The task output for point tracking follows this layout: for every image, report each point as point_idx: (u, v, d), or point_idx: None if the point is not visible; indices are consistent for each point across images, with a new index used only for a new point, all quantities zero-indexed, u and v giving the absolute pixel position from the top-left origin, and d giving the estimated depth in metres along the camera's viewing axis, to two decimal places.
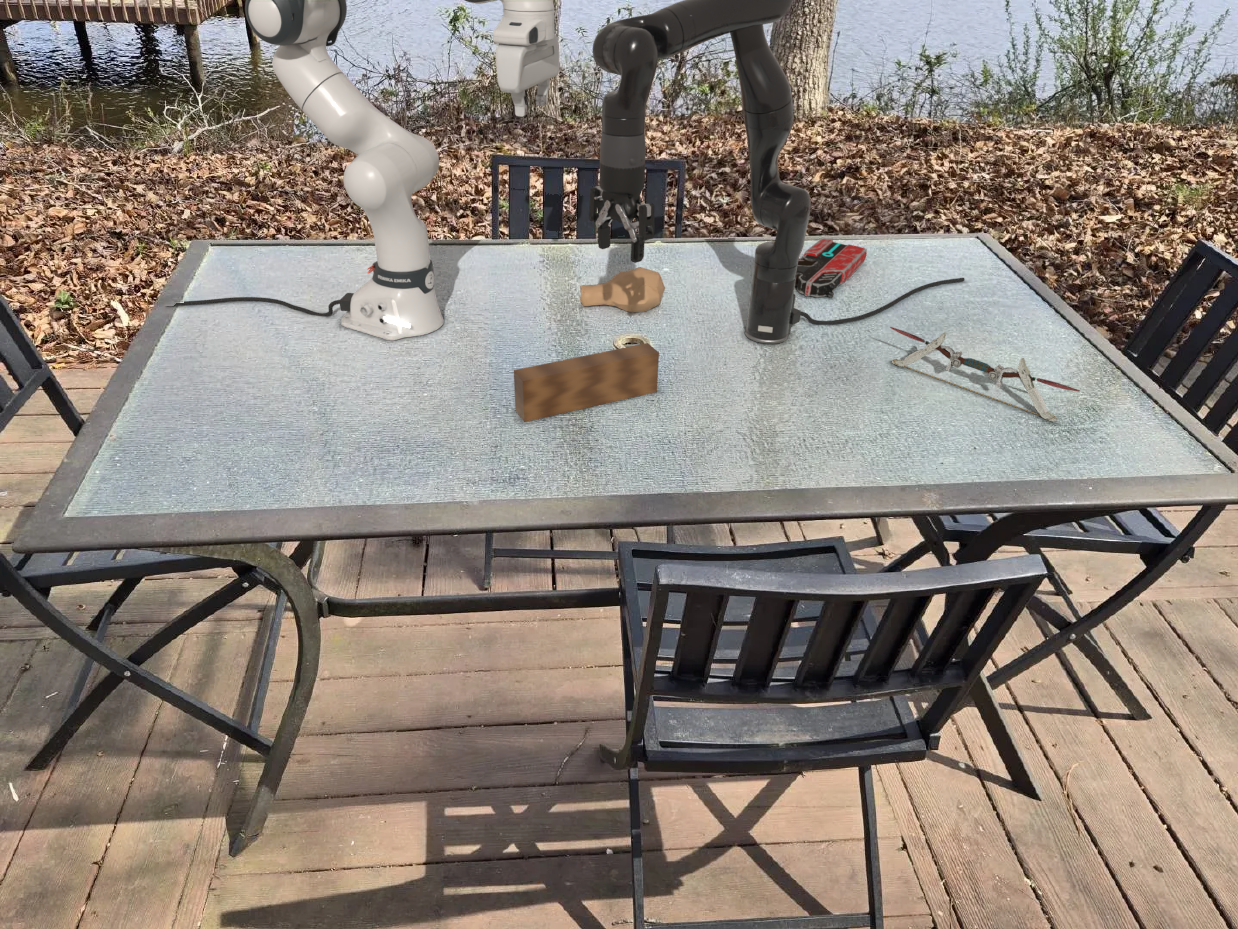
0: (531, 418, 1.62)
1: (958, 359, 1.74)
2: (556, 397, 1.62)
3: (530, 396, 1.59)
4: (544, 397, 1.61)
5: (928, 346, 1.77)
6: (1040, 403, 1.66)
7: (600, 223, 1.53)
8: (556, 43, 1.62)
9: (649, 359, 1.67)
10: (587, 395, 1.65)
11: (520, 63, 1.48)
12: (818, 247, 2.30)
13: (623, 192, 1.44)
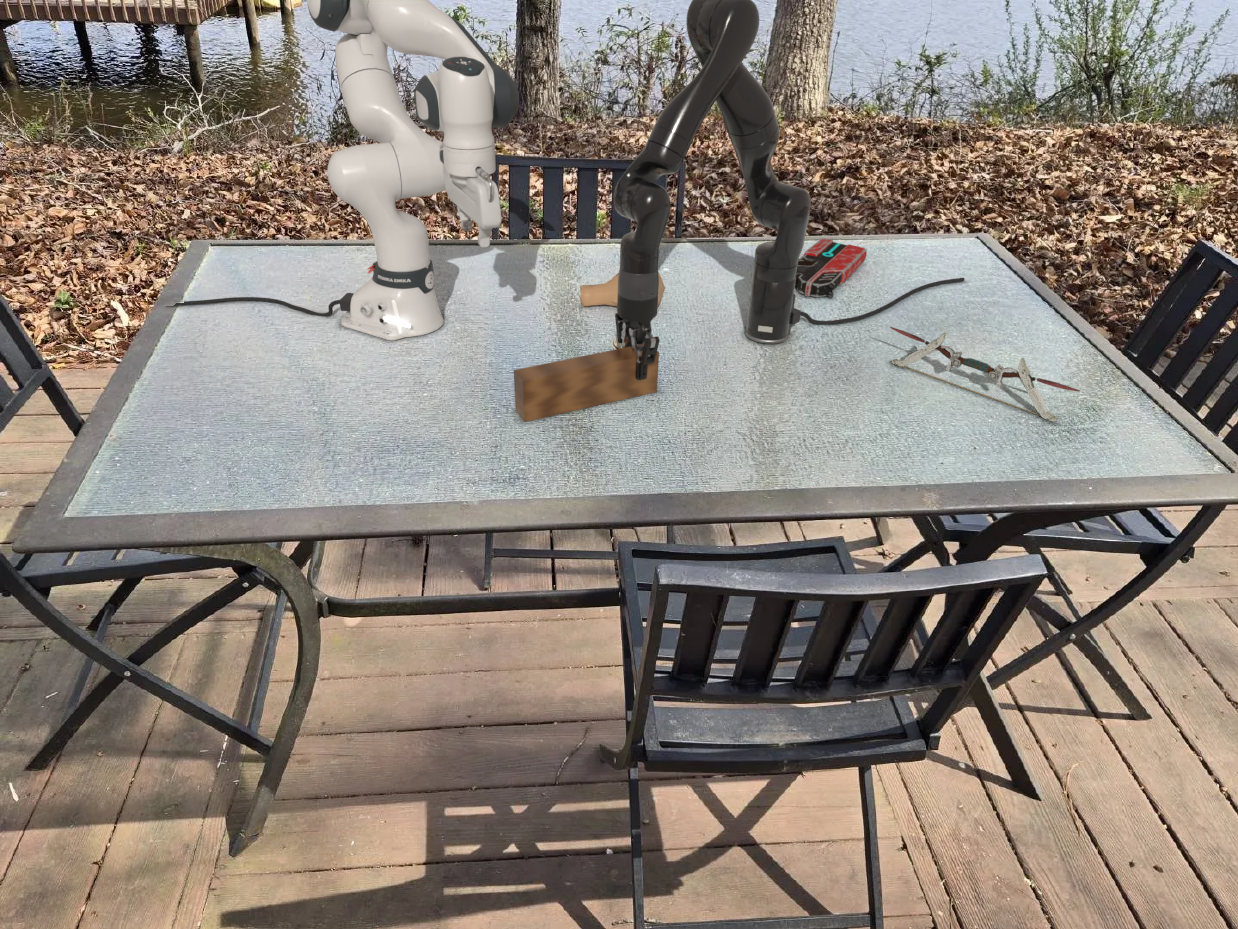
0: (531, 418, 1.62)
1: (958, 359, 1.74)
2: (556, 397, 1.62)
3: (530, 396, 1.59)
4: (544, 397, 1.61)
5: (928, 346, 1.77)
6: (1040, 403, 1.66)
7: (624, 347, 1.69)
8: (477, 195, 1.48)
9: None
10: (587, 395, 1.65)
11: (443, 173, 1.62)
12: (818, 247, 2.30)
13: (633, 320, 1.60)
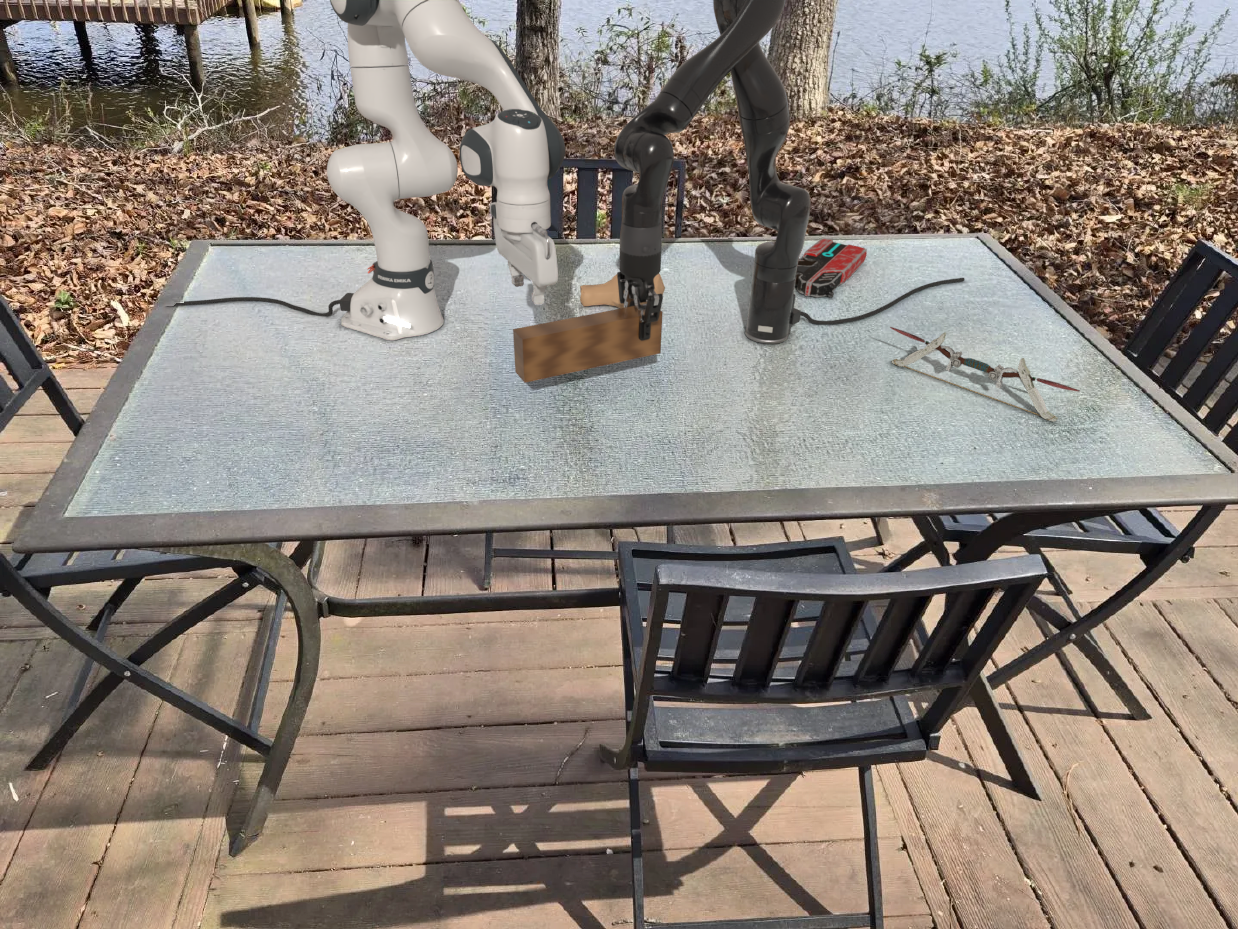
0: (531, 379, 1.57)
1: (958, 359, 1.74)
2: (557, 357, 1.57)
3: (530, 355, 1.55)
4: (544, 356, 1.56)
5: (928, 346, 1.77)
6: (1040, 403, 1.66)
7: (627, 306, 1.64)
8: (533, 252, 1.41)
9: None
10: (589, 355, 1.61)
11: None
12: (818, 247, 2.30)
13: (636, 276, 1.56)
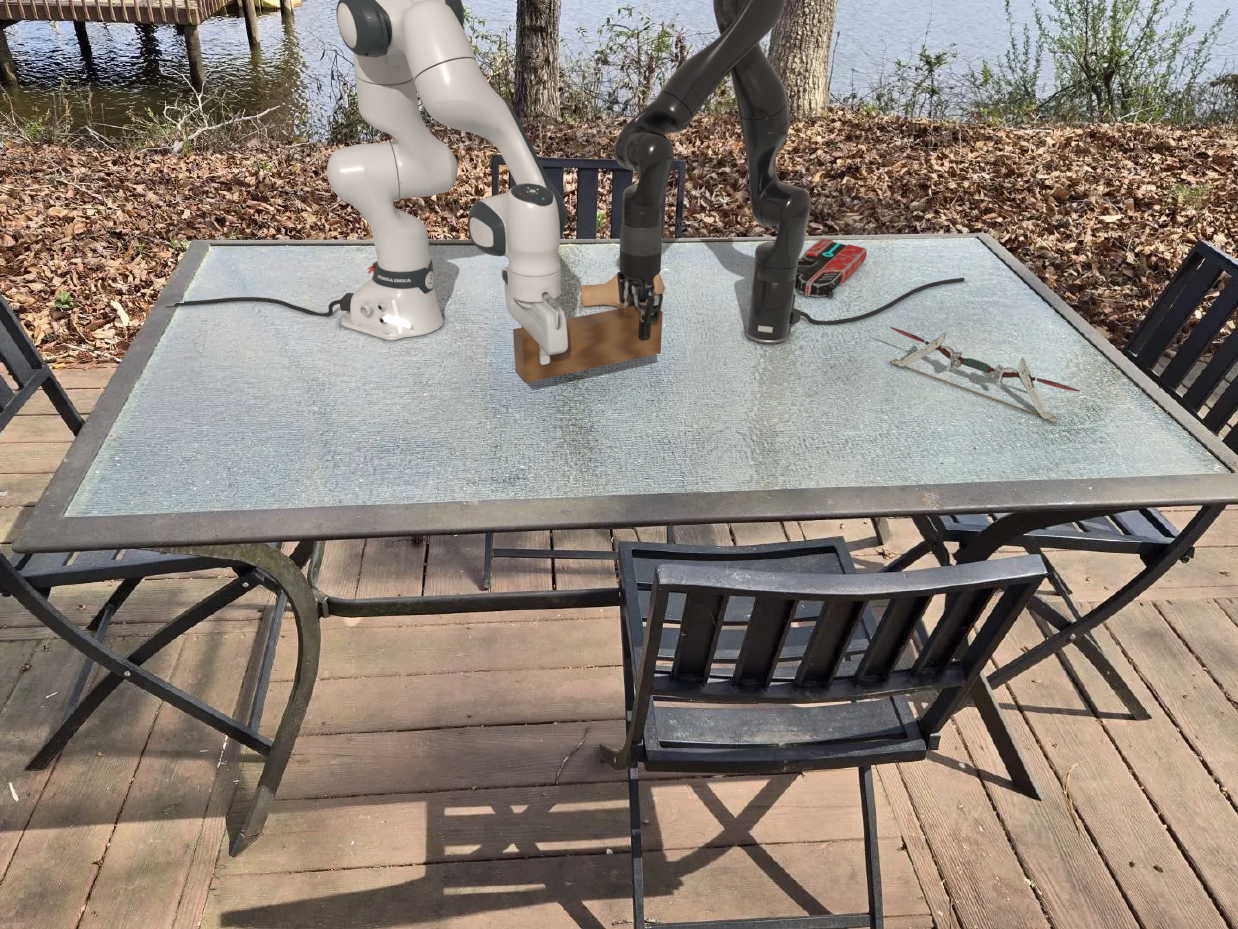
0: (531, 379, 1.57)
1: (958, 359, 1.74)
2: (557, 357, 1.57)
3: (530, 355, 1.55)
4: None
5: (928, 346, 1.77)
6: (1040, 403, 1.66)
7: (627, 306, 1.64)
8: (544, 322, 1.46)
9: None
10: (589, 355, 1.61)
11: None
12: (818, 247, 2.30)
13: (636, 276, 1.56)
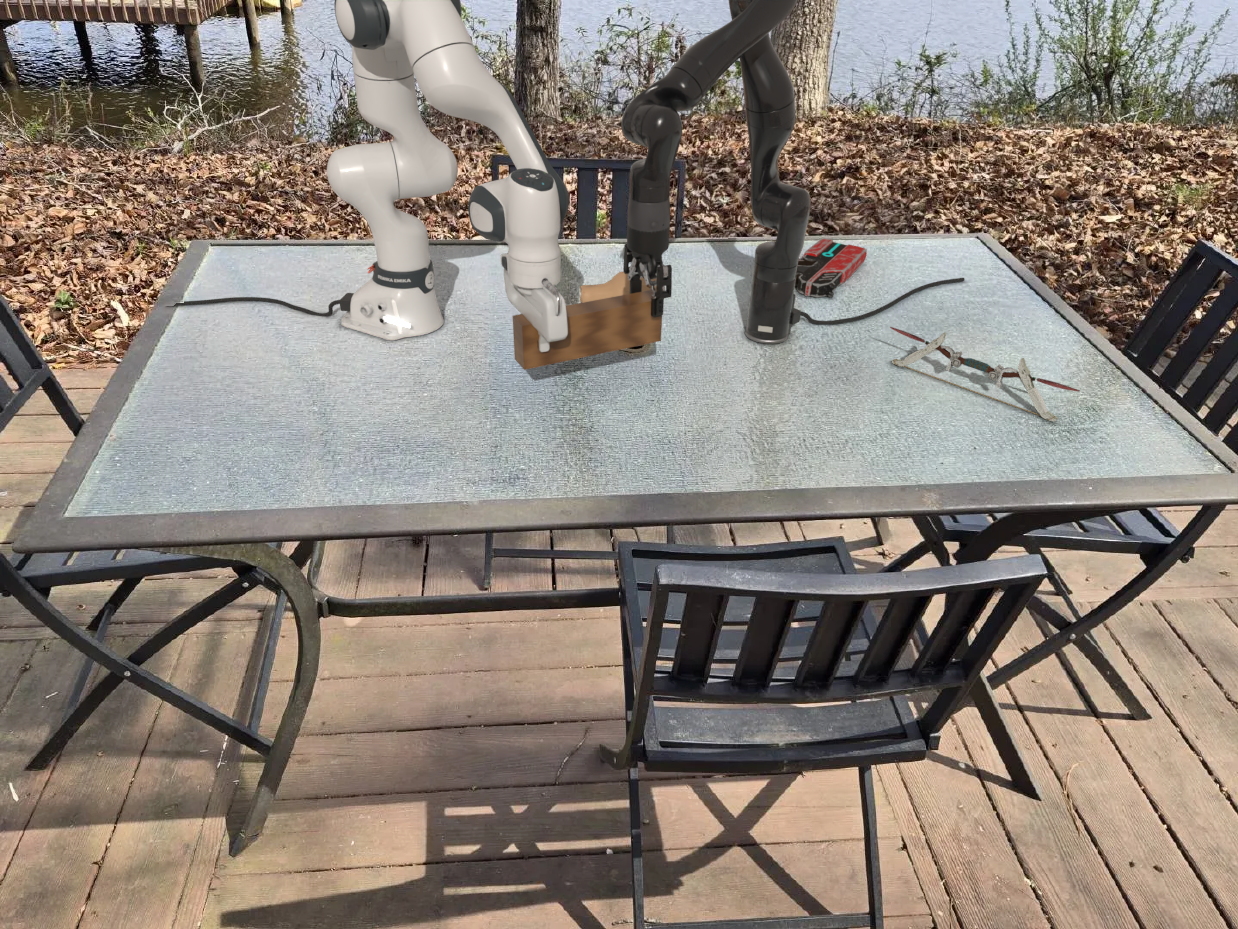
0: (531, 366, 1.56)
1: (958, 359, 1.74)
2: (557, 344, 1.56)
3: (529, 342, 1.53)
4: None
5: (928, 346, 1.77)
6: (1040, 403, 1.66)
7: (630, 277, 1.64)
8: (544, 308, 1.45)
9: None
10: (589, 343, 1.59)
11: (504, 276, 1.58)
12: (818, 247, 2.30)
13: (644, 253, 1.54)
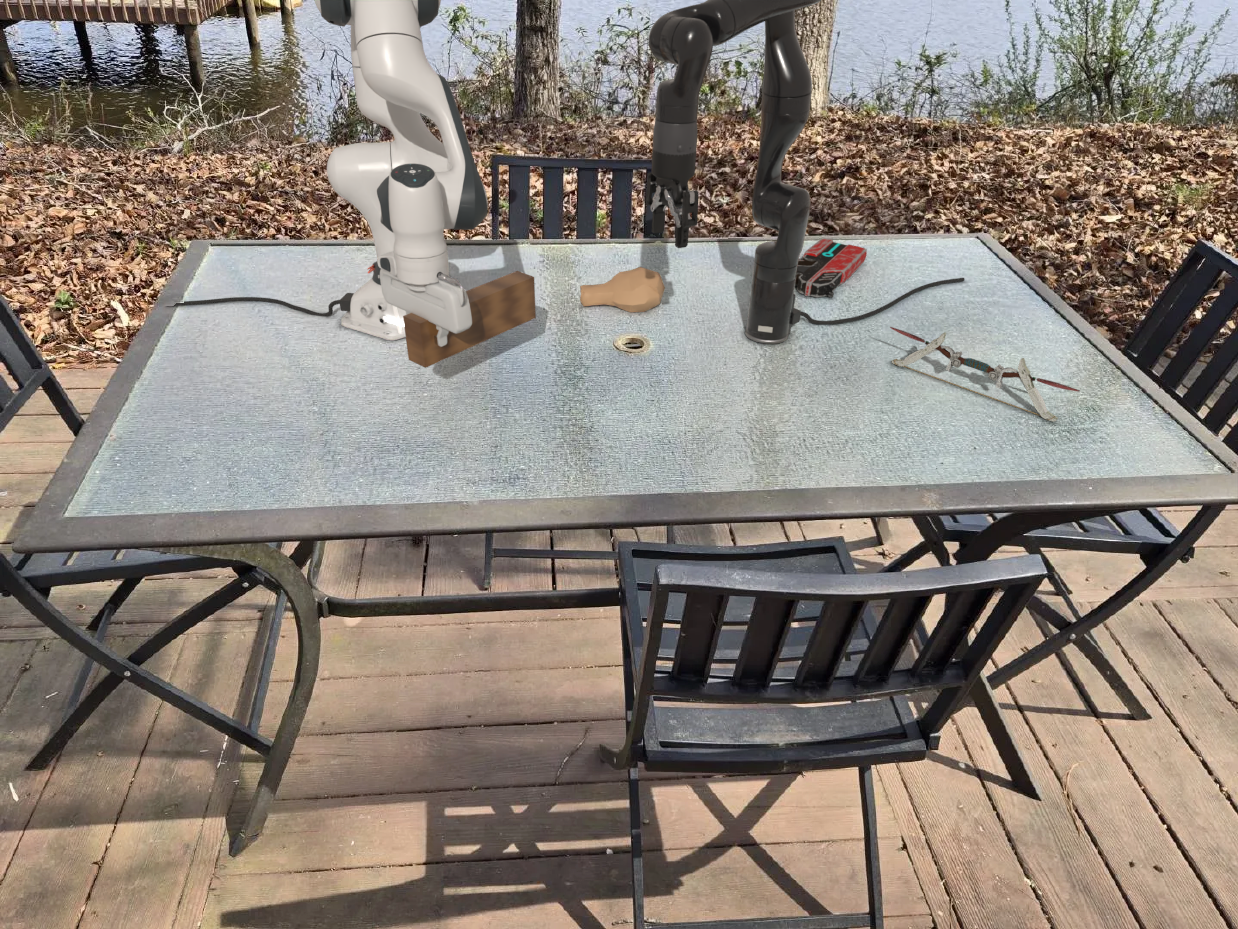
0: (431, 362, 1.56)
1: (958, 359, 1.74)
2: (451, 336, 1.57)
3: (427, 338, 1.53)
4: None
5: (928, 346, 1.77)
6: (1040, 403, 1.66)
7: (654, 207, 1.58)
8: (447, 301, 1.46)
9: (526, 285, 1.68)
10: (478, 330, 1.62)
11: (380, 278, 1.55)
12: (818, 247, 2.30)
13: (670, 178, 1.49)
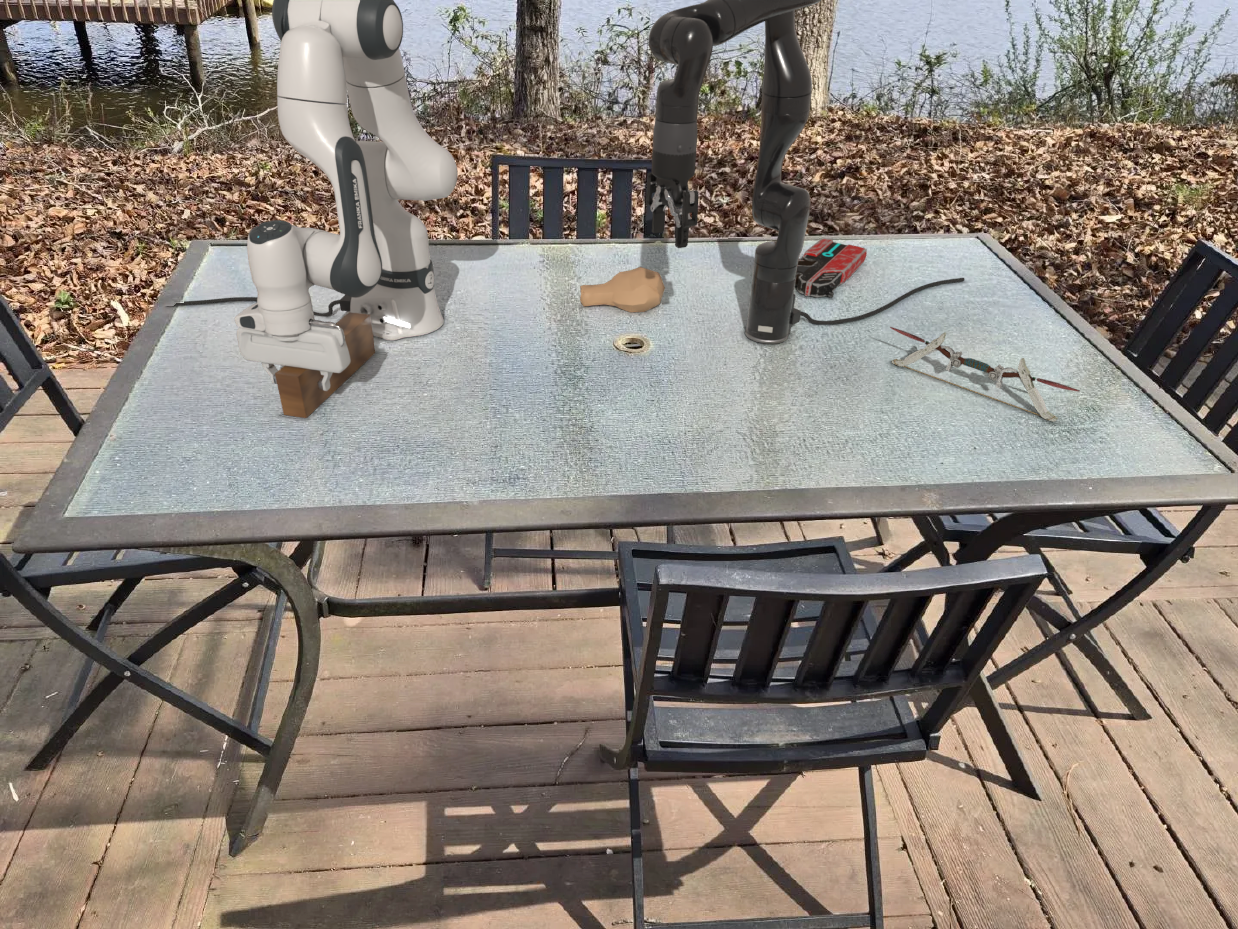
0: (310, 412, 1.62)
1: (958, 359, 1.74)
2: None
3: (305, 390, 1.59)
4: (313, 387, 1.62)
5: (928, 346, 1.77)
6: (1040, 403, 1.66)
7: (654, 207, 1.58)
8: (328, 344, 1.53)
9: (366, 323, 1.78)
10: (338, 373, 1.70)
11: (237, 338, 1.56)
12: (818, 247, 2.30)
13: (670, 178, 1.49)
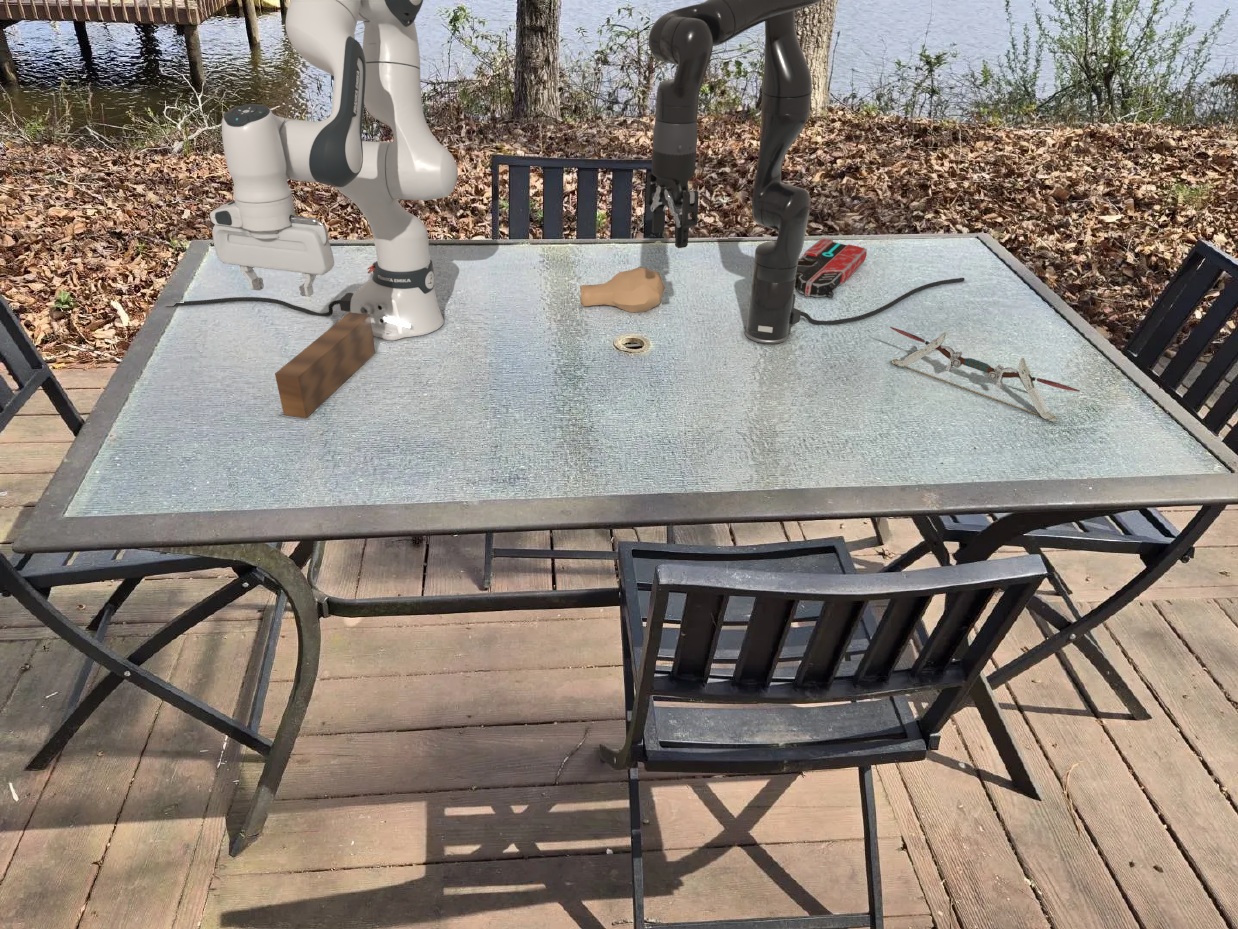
0: (310, 412, 1.62)
1: (958, 359, 1.74)
2: (321, 384, 1.64)
3: (305, 390, 1.59)
4: (313, 387, 1.62)
5: (928, 346, 1.77)
6: (1040, 403, 1.66)
7: (654, 207, 1.58)
8: (310, 242, 1.43)
9: (366, 323, 1.78)
10: (338, 373, 1.70)
11: (213, 237, 1.46)
12: (818, 247, 2.30)
13: (670, 178, 1.49)
